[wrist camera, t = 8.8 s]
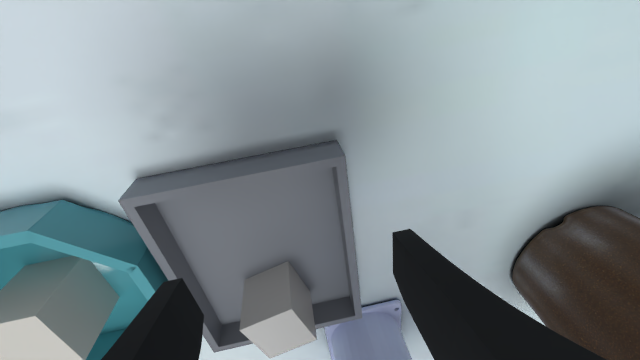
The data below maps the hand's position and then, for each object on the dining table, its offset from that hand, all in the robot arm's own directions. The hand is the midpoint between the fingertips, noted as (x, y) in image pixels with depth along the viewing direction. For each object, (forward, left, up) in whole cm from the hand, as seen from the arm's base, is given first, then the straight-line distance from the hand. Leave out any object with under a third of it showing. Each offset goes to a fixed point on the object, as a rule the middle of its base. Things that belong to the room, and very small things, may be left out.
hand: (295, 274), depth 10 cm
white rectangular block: (-7, +17, -10) cm, 21 cm away
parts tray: (-8, +3, -10) cm, 13 cm away
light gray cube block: (-12, +3, -10) cm, 16 cm away
